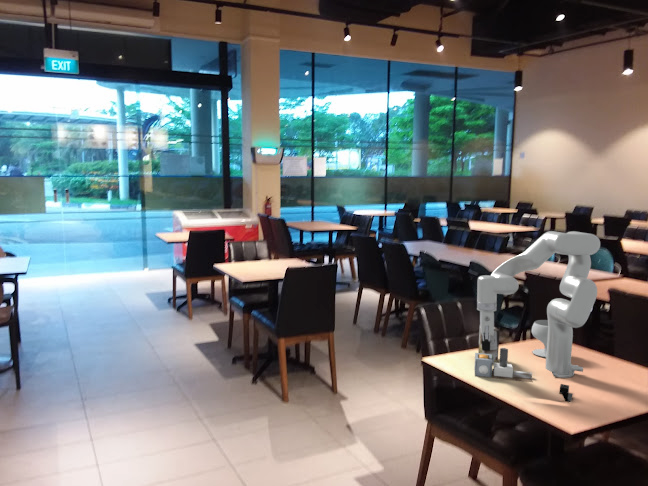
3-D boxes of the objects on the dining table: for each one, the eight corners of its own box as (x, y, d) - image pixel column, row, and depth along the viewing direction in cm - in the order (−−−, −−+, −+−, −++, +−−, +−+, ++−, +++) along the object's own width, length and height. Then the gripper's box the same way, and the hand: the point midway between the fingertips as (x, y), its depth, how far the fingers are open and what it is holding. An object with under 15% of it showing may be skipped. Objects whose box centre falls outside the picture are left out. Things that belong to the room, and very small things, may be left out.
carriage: (511, 372, 213) (512, 347, 212) (512, 378, 207) (514, 352, 206) (493, 370, 215) (494, 346, 213) (494, 376, 209) (495, 350, 208)
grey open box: (490, 370, 216) (491, 354, 215) (491, 377, 208) (492, 360, 207) (474, 368, 218) (475, 352, 217) (474, 375, 210) (475, 359, 209)
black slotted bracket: (572, 406, 187) (573, 394, 187) (551, 401, 191) (551, 389, 190) (575, 394, 198) (576, 382, 197) (554, 390, 202) (555, 378, 201)
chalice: (562, 352, 245) (564, 321, 244) (562, 361, 233) (564, 328, 231) (531, 348, 251) (533, 317, 249) (529, 356, 239) (531, 324, 237)
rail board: (529, 377, 213) (530, 369, 212) (532, 385, 204) (533, 377, 204) (474, 371, 218) (474, 363, 218) (474, 379, 210) (475, 371, 209)
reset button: (487, 361, 214) (488, 354, 213) (488, 364, 210) (488, 357, 210) (478, 361, 215) (479, 354, 214) (478, 363, 211) (479, 356, 211)
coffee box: (498, 366, 225) (500, 330, 223) (483, 366, 225) (485, 330, 223) (491, 359, 234) (493, 324, 232) (477, 359, 234) (479, 324, 232)
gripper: (497, 311, 202) (496, 356, 204) (495, 302, 216) (494, 344, 218) (477, 310, 204) (476, 355, 206) (476, 301, 218) (475, 343, 220)
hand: (485, 349), depth 212 cm, fingers closed
